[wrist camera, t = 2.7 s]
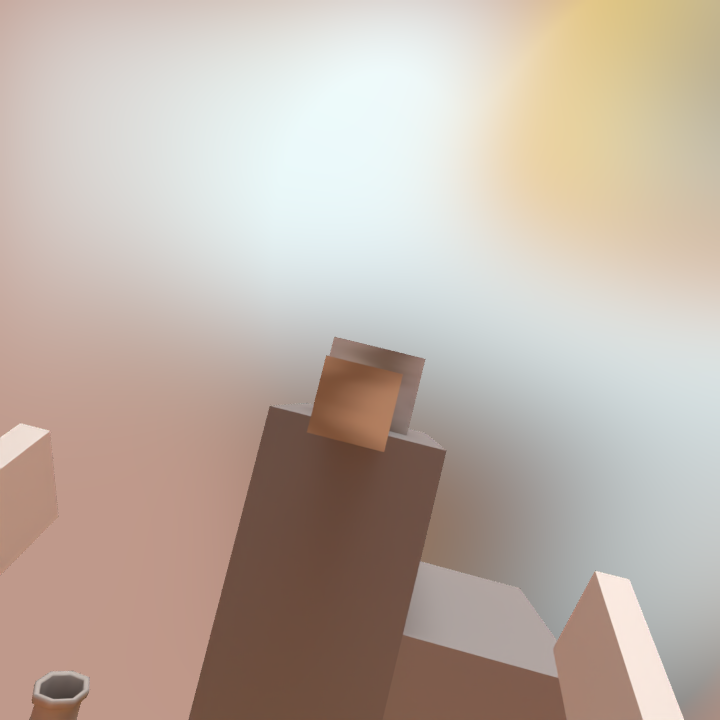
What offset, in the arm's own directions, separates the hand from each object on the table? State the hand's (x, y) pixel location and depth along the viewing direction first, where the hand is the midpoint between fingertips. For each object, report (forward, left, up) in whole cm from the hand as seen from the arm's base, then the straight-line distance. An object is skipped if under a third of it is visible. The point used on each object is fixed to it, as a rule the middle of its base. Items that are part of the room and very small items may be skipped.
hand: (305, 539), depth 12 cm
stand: (+5, +23, -28) cm, 37 cm away
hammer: (0, +16, +2) cm, 16 cm away
